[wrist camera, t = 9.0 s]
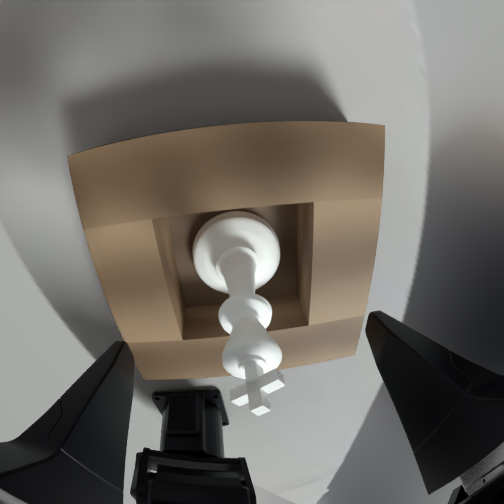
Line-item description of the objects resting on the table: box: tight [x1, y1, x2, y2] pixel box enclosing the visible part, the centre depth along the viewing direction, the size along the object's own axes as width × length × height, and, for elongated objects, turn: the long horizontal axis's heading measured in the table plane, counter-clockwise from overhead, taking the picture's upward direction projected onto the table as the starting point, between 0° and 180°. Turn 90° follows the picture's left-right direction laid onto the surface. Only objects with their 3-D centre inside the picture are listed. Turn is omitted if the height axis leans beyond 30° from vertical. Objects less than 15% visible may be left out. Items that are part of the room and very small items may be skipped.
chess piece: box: [192, 211, 285, 416], centre depth 11 cm, size 5×5×10 cm
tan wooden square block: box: [67, 121, 385, 380], centre depth 15 cm, size 14×14×4 cm
